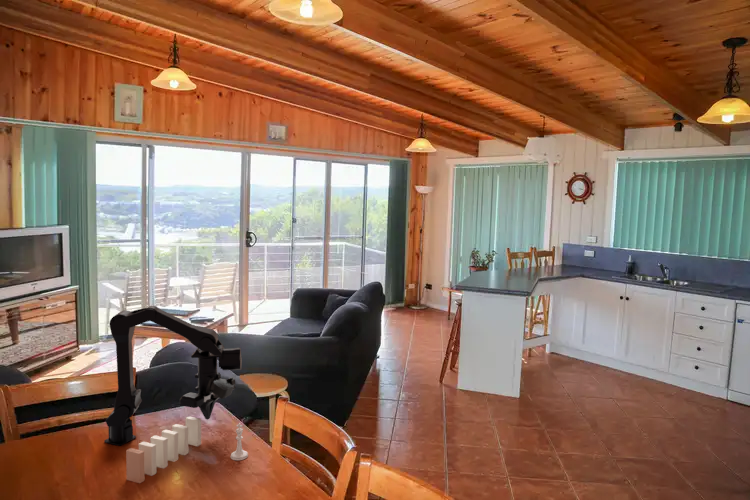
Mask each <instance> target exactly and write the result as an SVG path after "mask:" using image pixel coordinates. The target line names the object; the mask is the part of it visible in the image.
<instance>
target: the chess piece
mask: <svg viewBox="0 0 750 500" xmlns="http://www.w3.org/2000/svg"><path fill="white" fill-rule="evenodd" d="M237 427H238V428H237ZM243 432H244V429H243V424H241V422H239V423H238V424H236V429H235V433H236V436H235V440H237V443H236V450H235V451H233V452H231V454H230V459H231V460H233V461H243V460H245V459H247V458H248V457H249V452H248V451H246V450H244V449H243V445H242V440H243V439H244V436H243V435H242V434H243Z"/></svg>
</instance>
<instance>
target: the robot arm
mask: <svg viewBox="0 0 750 500" xmlns="http://www.w3.org/2000/svg"><path fill="white" fill-rule="evenodd" d="M147 322H152V323H154V324H156V325H158V326H160V327H162V328H165V329H166V330H169V331H171V332H173V333H175V334H177V335H178V336H179V335H180V336H181V337H183V338H185V339H186V340H188V342H190V343H191V345H193V346H194V347H196V350H195V351H193V352H192V354H191V356H190V357H191V359H196V358H197V373H195V374H194V378H195V379H197V386H196V387H194V391H195V392H198V393H195V392H192V391H191V392H188V393H185V394H183V395H182V396H181V397H180V398H179V405H180V406H182V407H188V408H193V409H196V408H199V410H200V411H201V413H202V416H203V417H204V419H205V420H209V419H210V418H211V416H212V413H213V410H214V407H215V404H216V402H217V401H218V399H222V400H224V399H226V398H228V397H230V396H231V395H232V392H233V390H235V389H236V378H234V377H232V376H230V377H229V378H227V379H226V378H222V377H221V376H222V374H221V372H218V367H219V368H220V370H222V371H241V370H242V367H243V366H242V363H243V362H242V361H243V356H242V351H241V350H242V349H241V347H234V348H225V346H224V344H223V343H222V342H221V341H220V340H219V336H218V333H217V331H216V330H214V329H212V328H208V327H204V326H199V325H195V324H192V323H189V322H188V321H185V320H183V319H181V318H180V317H178V316H175V315H173V314H171V313H169V312H167V311H165V310H164V309H161V308H159V307H158V306H157V305H150V306H147V307H144V308H138V309H135V310H131V311H130V310H128V309H127V310H126V309H125V310H121V311H120V312H118V313H117V314H115V315H113V316H112V318H110V320H109V324H108V325H109V329H110V333H111V336H112V338H113V341H114V342H115V348H116V369H117V370H116V372H117V393H116V397H115V400H114V406H113V410H112V412H111V413H109V415H108V417H107V418H106V419H105V423H106V426H107V429H108V430H107V431H108V438H107V439H105V440H104V443H107V444H110V445H113V446H114V445H115V446H119V447H120V446H122V445H124V444H126V443H128V442H130V441H133V440H134V439H136V438H137V435H134V426H133V419H131V417H133V415H134V413H135V412H136V411H137V410H138V408H139V407H140V404H141V403H142V402H143V399H142V397H141V396H142V395H141V392H142V389H141V388H138V389H137V388H136V386H135V380H134V361H133V359H134V358H133V337H134V333H135V329H136V327H137V326H139V325H142V324H144V323H147Z"/></svg>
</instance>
